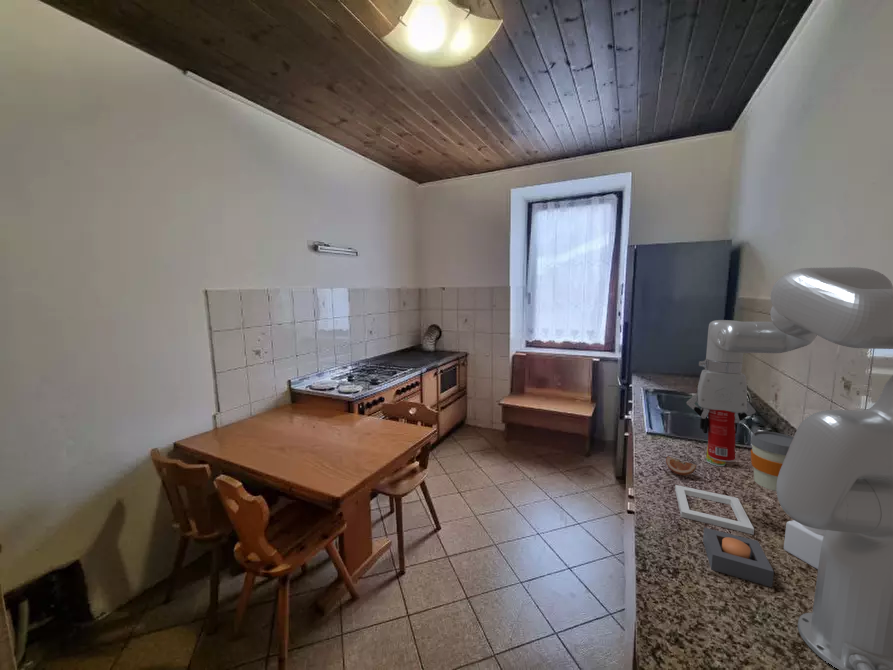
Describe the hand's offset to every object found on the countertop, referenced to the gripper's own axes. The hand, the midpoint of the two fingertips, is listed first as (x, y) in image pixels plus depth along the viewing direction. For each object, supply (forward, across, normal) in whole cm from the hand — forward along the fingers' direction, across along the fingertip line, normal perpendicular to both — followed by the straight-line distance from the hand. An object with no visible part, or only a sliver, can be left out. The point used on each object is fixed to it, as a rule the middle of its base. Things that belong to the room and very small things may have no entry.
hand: (717, 432), depth 94 cm
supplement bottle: (+22, +7, +34) cm, 41 cm away
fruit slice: (+22, -5, +19) cm, 30 cm away
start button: (+21, +1, -21) cm, 29 cm away
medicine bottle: (+23, +17, -11) cm, 30 cm away
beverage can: (+7, +1, 0) cm, 7 cm away
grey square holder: (+22, +1, -21) cm, 30 cm away
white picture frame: (+22, 0, 0) cm, 22 cm away
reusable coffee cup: (+22, +20, +25) cm, 39 cm away
